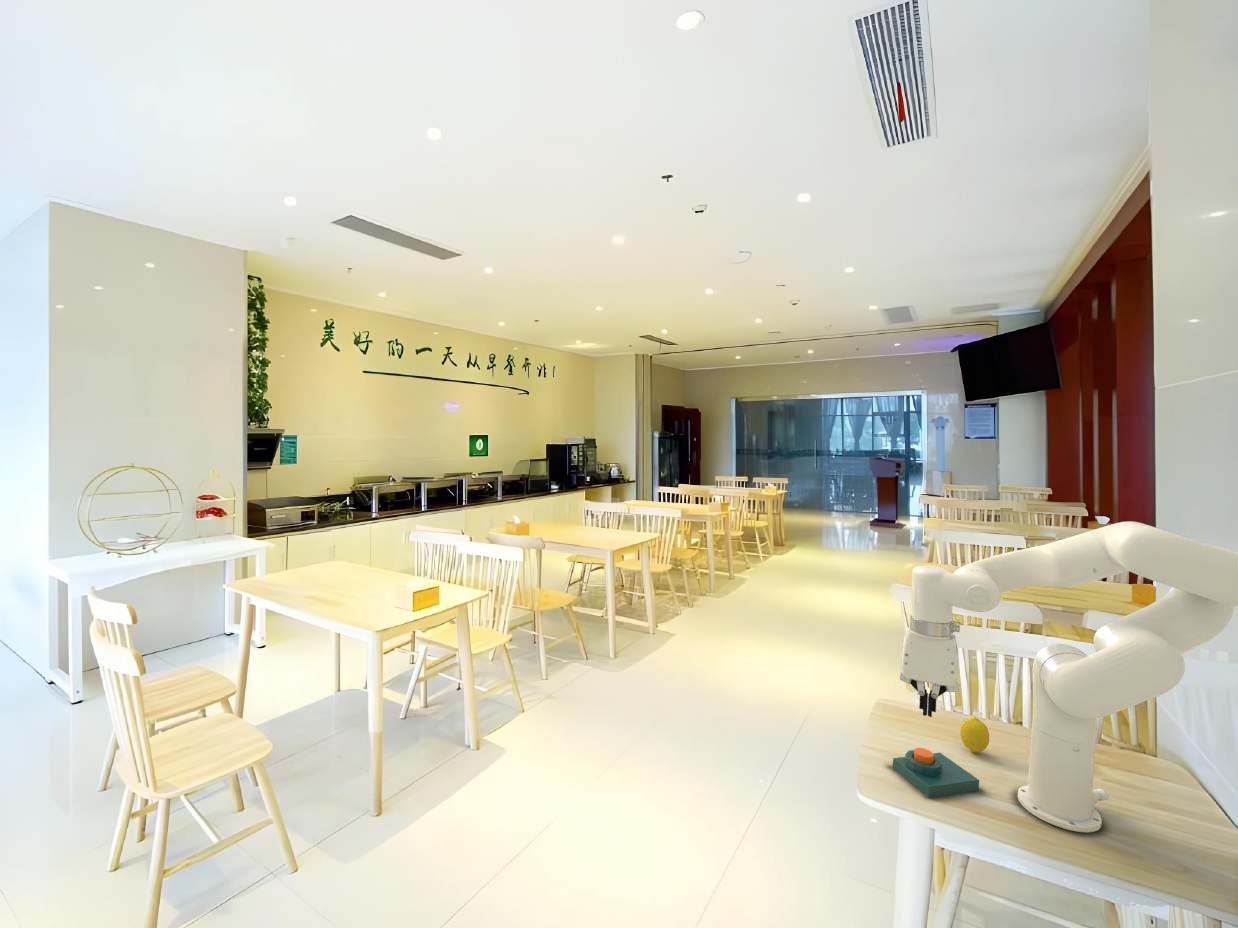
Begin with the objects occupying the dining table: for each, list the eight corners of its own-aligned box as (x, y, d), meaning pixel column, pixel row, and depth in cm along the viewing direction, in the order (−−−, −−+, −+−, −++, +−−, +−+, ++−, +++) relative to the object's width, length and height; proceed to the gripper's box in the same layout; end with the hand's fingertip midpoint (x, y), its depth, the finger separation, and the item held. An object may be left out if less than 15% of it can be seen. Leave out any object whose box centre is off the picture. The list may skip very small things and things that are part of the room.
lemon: (960, 742, 130) (962, 709, 130) (988, 751, 127) (990, 716, 126) (958, 753, 125) (960, 718, 125) (987, 762, 122) (989, 726, 122)
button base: (939, 762, 122) (940, 744, 121) (978, 790, 112) (980, 771, 112) (892, 767, 119) (893, 749, 119) (928, 797, 109) (929, 777, 109)
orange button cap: (924, 754, 118) (924, 746, 118) (937, 764, 114) (937, 756, 114) (909, 756, 117) (910, 748, 117) (922, 766, 114) (923, 757, 114)
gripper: (972, 628, 115) (969, 715, 115) (892, 615, 122) (889, 697, 123) (973, 638, 108) (970, 731, 109) (888, 624, 116) (886, 711, 117)
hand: (927, 713), depth 116 cm, fingers closed
